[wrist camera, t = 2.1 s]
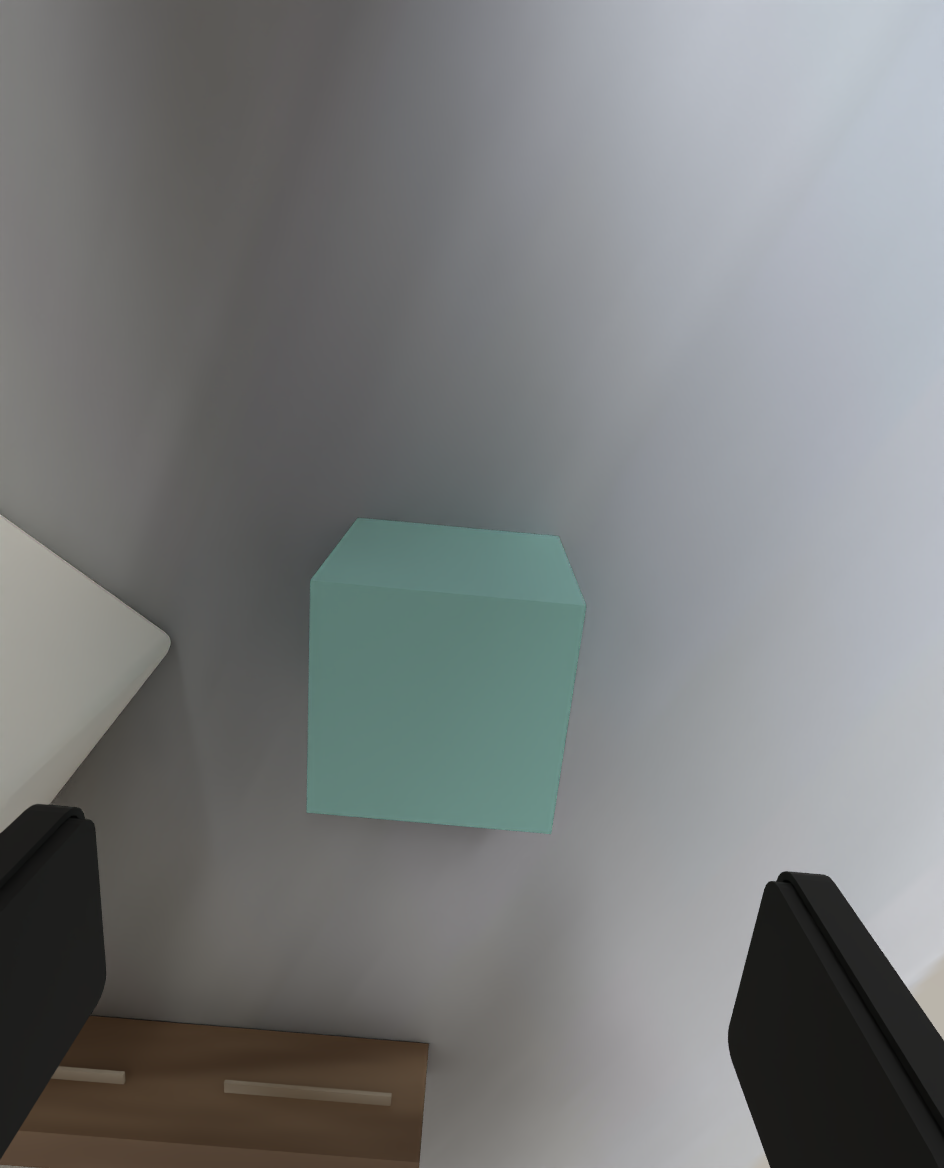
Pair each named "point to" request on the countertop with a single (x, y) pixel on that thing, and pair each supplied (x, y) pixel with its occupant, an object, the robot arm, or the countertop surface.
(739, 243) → the countertop surface
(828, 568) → the countertop surface
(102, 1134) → the walnut fence
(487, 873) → the countertop surface
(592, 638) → the countertop surface
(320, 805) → the teal block
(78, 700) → the medicine bottle
